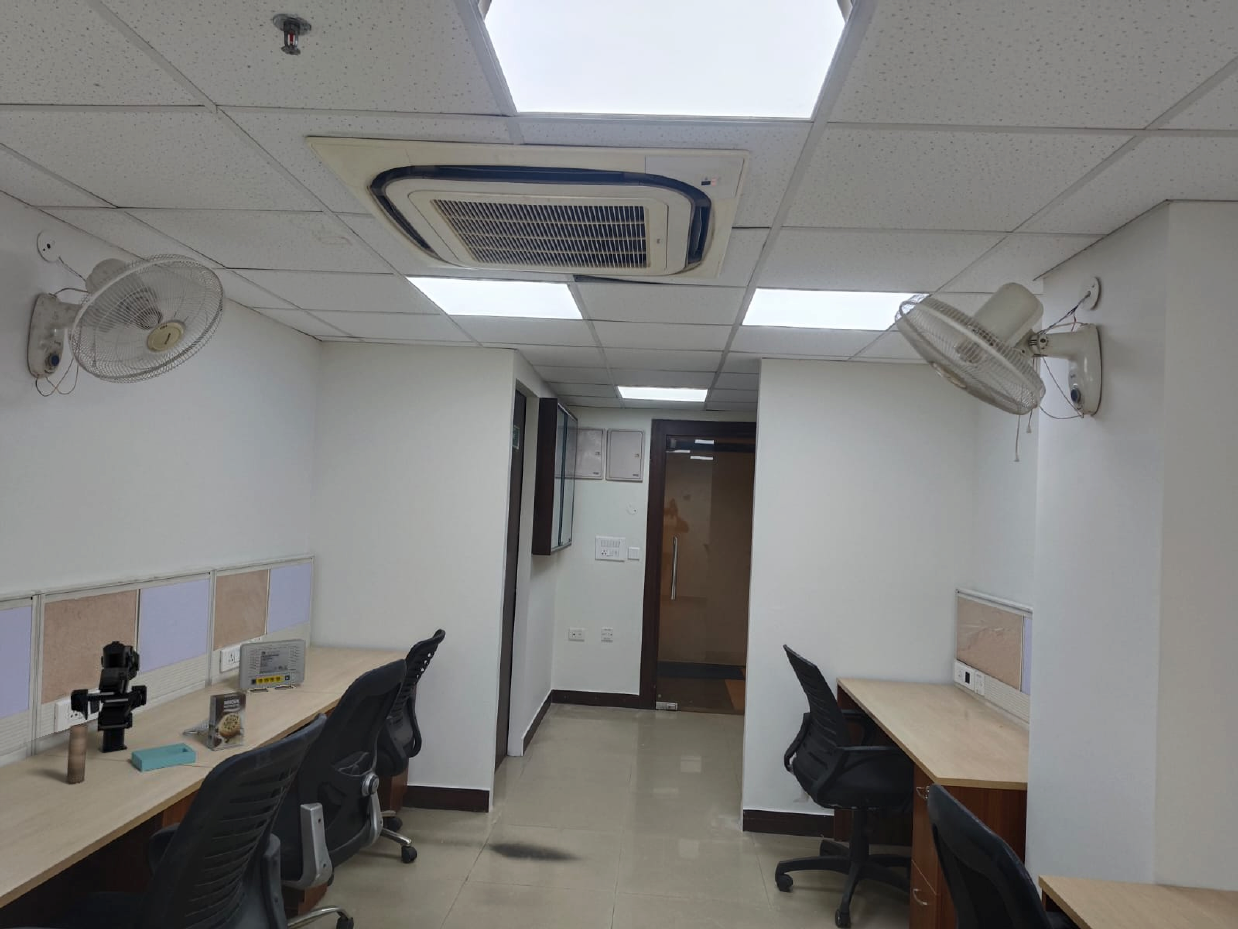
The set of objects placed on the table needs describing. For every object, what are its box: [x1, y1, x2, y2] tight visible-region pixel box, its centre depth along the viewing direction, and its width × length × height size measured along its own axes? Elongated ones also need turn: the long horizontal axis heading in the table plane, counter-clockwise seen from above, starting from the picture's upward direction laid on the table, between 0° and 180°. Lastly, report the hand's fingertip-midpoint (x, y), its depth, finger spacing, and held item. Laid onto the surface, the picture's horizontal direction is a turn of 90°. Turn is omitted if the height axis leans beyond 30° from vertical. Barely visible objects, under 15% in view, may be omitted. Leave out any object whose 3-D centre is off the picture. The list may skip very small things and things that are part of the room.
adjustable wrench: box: [183, 716, 209, 737], centre depth 275 cm, size 25×6×2 cm, turn 6°
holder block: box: [130, 742, 197, 772], centre depth 235 cm, size 12×14×3 cm
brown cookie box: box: [206, 691, 247, 751], centre depth 252 cm, size 9×6×16 cm
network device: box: [237, 638, 307, 691], centre depth 332 cm, size 26×9×20 cm, turn 130°
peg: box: [66, 723, 89, 785], centre depth 217 cm, size 4×4×15 cm
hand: (105, 717), depth 225 cm, fingers open, 9 cm apart
